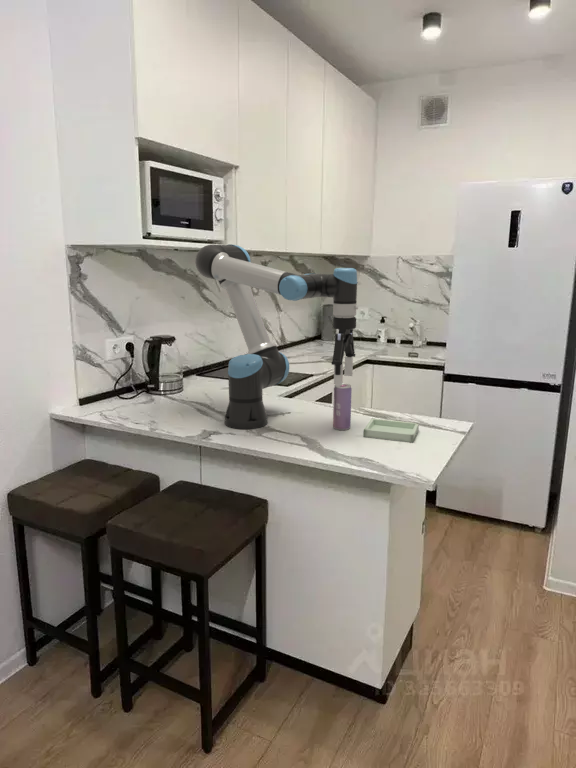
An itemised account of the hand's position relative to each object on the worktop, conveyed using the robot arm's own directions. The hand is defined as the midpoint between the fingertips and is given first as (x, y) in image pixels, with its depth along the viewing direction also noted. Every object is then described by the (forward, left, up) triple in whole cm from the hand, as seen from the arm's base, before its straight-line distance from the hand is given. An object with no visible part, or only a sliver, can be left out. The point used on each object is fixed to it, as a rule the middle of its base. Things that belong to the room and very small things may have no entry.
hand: (343, 380), depth 185 cm
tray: (+17, 0, -17) cm, 24 cm away
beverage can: (0, 0, -17) cm, 17 cm away
